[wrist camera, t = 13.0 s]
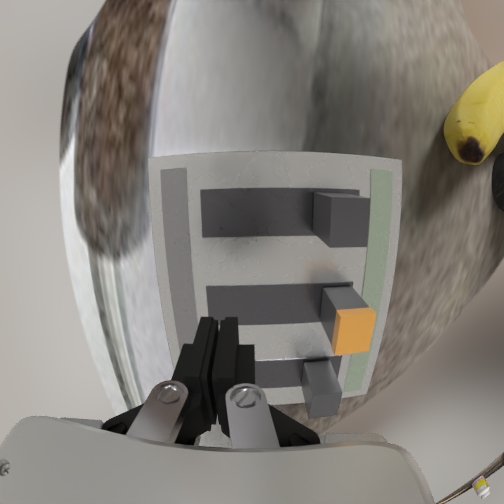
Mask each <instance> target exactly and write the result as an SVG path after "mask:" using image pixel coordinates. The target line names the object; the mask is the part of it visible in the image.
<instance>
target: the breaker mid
mask: <svg viewBox="0 0 504 504" xmlns="http://www.w3.org/2000/svg"><path fill="white" fill-rule="evenodd" d="M375 318H376V313H375V312H374V310H373V309H372V308H371V307H369V306H368V305H367V304H366V302H365V301H364V300H363V299H362V298H361V297H360V295H359V294H358V293H357V292H356V291H355V290H354V288H353V287H352V286H348V287H329V288H323V293H322V304H321V315H320V322H321V324H322V326H323V328H324V330H325V332H326V335H327V337H328V339H329V341H330V343H331V348H332V350H333V352H334V355H343V354H351V353H359V352H366V351H369V347H370V342H371V338H372V333H373V328H374V323H375Z"/></svg>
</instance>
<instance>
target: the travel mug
mask: <svg viewBox="0 0 504 504" xmlns="http://www.w3.org/2000/svg"><path fill="white" fill-rule="evenodd" d="M492 187H493V193H494V197H495V200H496V203H497V205H498V206H499V207H500V209H502V210H503V211H504V154H501V155H499V156H498V158H497V159H496V161H495V164H494V167H493V173H492Z"/></svg>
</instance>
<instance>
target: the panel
mask: <svg viewBox="0 0 504 504" xmlns="http://www.w3.org/2000/svg"><path fill="white" fill-rule="evenodd" d="M148 167H149V192H150V208H151V222H152V234H153V244H154V253H155V262H156V270H157V278H158V285H159V292H160V299H161V305H162V311H163V317H164V323H165V329H166V334H167V339H168V344H169V349H170V354H171V359H172V364H173V368H174V370H175V367H176V364H177V361H178V358H179V355H180V352H181V349H182V346H183V344H184V343H187V344H193V342H194V338H195V335H196V331H197V328H198V325H199V321H200V318H201V317H213V318H214V320H218V326H219V328H220V323H221V320H225V318H226V317H238V329H239V344H255V385H256V386H258V387H260V388H261V389H262V390H263V391H264V393H265V395H266V399H267V403H268V404H270V405H279V404H294V403H305V400H304V396H303V391H302V387H301V383H302V375H303V366H304V363H305V362H317V361H328V360H330V362H331V364H332V367H333V369H334V372H335V374H336V377H337V379H338V382H339V384H340V387H341V389H342V392H343V393H342V397H341V398H346V397H353V396H358V395H364V394H366V393H367V390H368V387H369V384H370V381H371V377H372V374H373V370H374V367H375V363H376V360H377V356H378V352H379V348H380V344H381V340H382V336H383V332H384V327H385V322H386V318H387V313H388V308H389V303H390V297H391V291H392V285H393V279H394V272H395V265H396V258H397V249H398V240H399V229H400V216H401V198H402V160H398V159H391V158H382V157H373V156H363V155H352V154H339V153H323V152H298V151H237V152H213V153H196V154H183V155H172V156H161V157H152V158H148ZM314 192H326V193H347V194H352V195H357V196H361V197H366V198H370V213H369V230H368V243H367V247H346V248H329V247H328V246H327V245H326V244H325V243H324V242H323V241H322V240H321V239H319V238H318V237H317V236H316V235H315V234H314V233H313V207H314ZM348 286H352V287H353V288H354V290H355V291H356V292H357V293H358V294H359V295H360V297H361V298H362V299H363V300H364V301H365V302H366V304H367V305H368V306H369V307H371V308H372V309H373V310H374V312H375V313H376V318H375V323H374V328H373V333H372V338H371V342H370V347H369V351H366V352H359V353H351V354H343V355H334V352H333V350H332V348H331V343H330V341H329V339H328V337H327V335H326V332H325V330H324V328H323V326H322V324H321V322H320V315H321V304H322V293H323V288H329V287H348Z"/></svg>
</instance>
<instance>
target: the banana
mask: <svg viewBox="0 0 504 504" xmlns="http://www.w3.org/2000/svg"><path fill="white" fill-rule="evenodd" d="M503 133H504V61H502V62H501V63H499V64H497V65H496V66H494V67H492V68H490V69H489V70H487V71H486V72H485V73H483V74H482V75H481V76H479V77H478V78H477V79H476V80H475V81H474V82H473V83H472V84H471V85H470V86H469V87H468V88H467V89H466V90H465V91H464V92H463V93H462V95H461V96H460V97H459V98H458V100H457V101H456V102H455V104H454V105H453V107H452V108H451V110H450V112H449V113H448V115H447V118H446V120H445V123H444V136H445V140H446V143H447V145H448V147H449V149H450V151H451V153H452V154H453V156H454V157H455V158H456V159H457V160H458V161H460V162H462V163H465V164H472V165H479V164H481V163H482V162H483V161H484V160H485V159H486V157H487V156H488V155H489V154H490V153H491V152H492V150H493V149H494V148H495V146H496V145H497V143H498V141H499V139H500V137H501V136H502V134H503Z"/></svg>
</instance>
